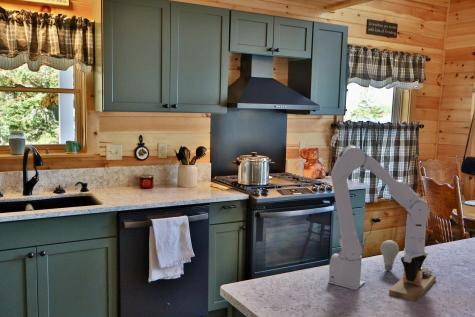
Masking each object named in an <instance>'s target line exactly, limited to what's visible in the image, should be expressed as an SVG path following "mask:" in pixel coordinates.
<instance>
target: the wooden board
mask: <svg viewBox="0 0 475 317" xmlns="http://www.w3.org/2000/svg"><path fill="white" fill-rule="evenodd" d="M425 274H426V273H425ZM436 277H437V276H436V275H434V274H430V275H429V276H428V278H427V277H422V284H421V285H420V286H417V285H412V284H408V283H405V282H403V277H402V278H401V279H399V280H398V281H397V282H396V283H395V284H394V285H393V286H392V287H390V289H389V291H388V295H390V296H393V297H397V298H402V299H405V300H408V301H413V302H415V303H417V301H418V300H419V299H420V298H422V296H423V295H424V294H425V292H427V290H428V289H429V288H430V287H431V286H432V284H434V282H435V281H436V280H437V278H436Z"/></svg>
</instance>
